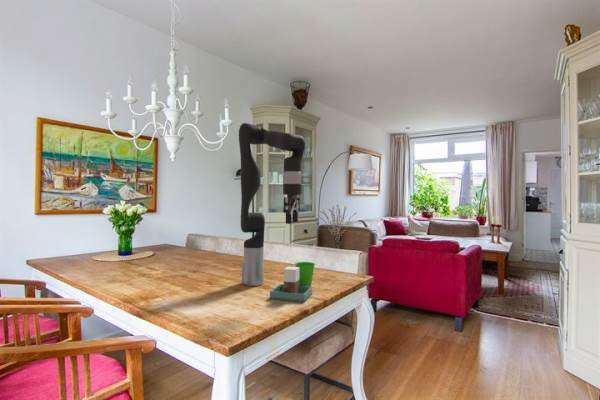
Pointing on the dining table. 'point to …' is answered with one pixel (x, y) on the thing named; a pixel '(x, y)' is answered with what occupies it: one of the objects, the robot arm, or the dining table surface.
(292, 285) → the walnut block
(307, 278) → the cup
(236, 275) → the dining table surface
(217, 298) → the dining table surface
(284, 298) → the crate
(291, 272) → the cream box
